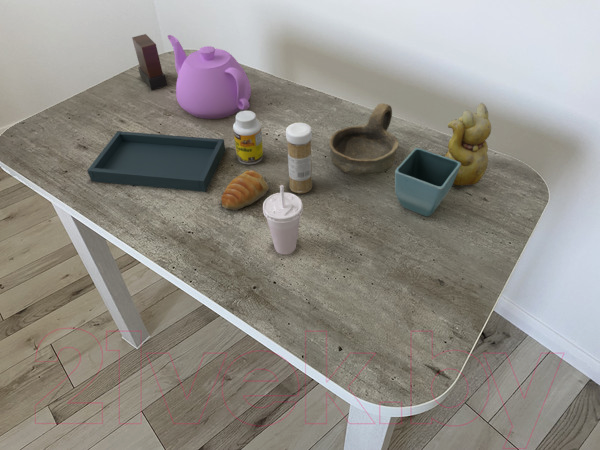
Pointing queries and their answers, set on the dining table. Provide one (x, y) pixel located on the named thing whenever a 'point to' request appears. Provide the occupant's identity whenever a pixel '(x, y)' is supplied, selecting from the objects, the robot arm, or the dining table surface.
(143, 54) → the eraser
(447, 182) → the flower pot
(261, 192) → the pastry
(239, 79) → the teapot
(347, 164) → the bowl
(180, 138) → the tray
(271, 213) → the smoothie
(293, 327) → the dining table surface
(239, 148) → the supplement bottle
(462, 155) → the decorative figurine
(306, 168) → the spice jar
